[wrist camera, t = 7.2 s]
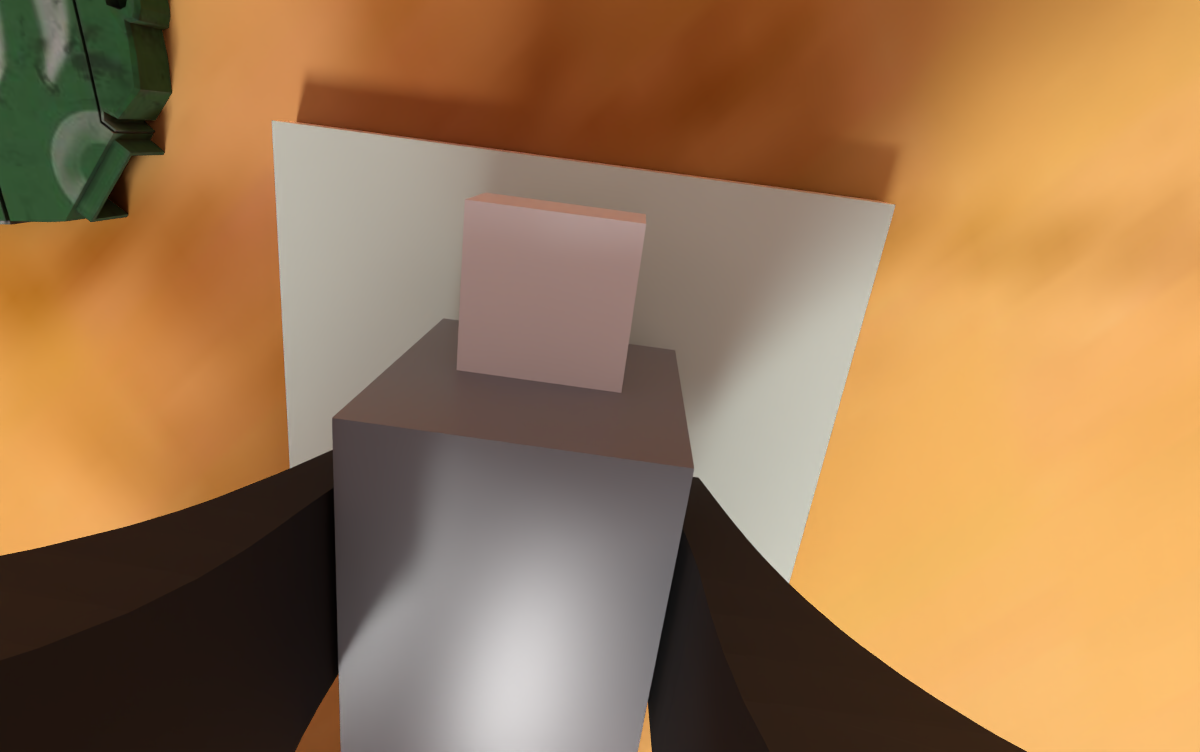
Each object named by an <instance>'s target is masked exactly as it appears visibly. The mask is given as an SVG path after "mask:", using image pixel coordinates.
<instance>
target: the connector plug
mask: <svg viewBox="0 0 1200 752" xmlns="http://www.w3.org/2000/svg"><path fill="white" fill-rule="evenodd" d="M645 229H646V214H641V213H633V212H626V211H619V210H611V209H604V208H596V207H589V206H582V205H574V204H567V203H559V202H552V201H545V200H537V199H530V198H522V197H515V196H508V195H500V194H493V193H483V194H480V195H477V196H474V197H471V198H468V199H465V204H464V225H463V246H462V266H461V287H460V308H459V320H452V319H445V318H443V319H442V320H441V321H440V322H439V323H438V324H436V325H435V326H434V327H433V328H432V329H431V330H430V331H429V332H427V333H426V334H425V335H424V336H423V337H422V338H421V339H420V340H418V341H417V342H416V343H415V344H414V345H413V346H412V347H411V348H410V349H408V350H407V351H406V352H405V353H404V354H403V355H402V356H401V357H399V358H398V359H397V360H396V361H395V362H394V363H393V364H392V365H390V366H389V367H388V368H387V369H386V370H385V371H384V372H383V373H382V374H380V375H379V376H378V377H377V378H376V379H375V380H374V381H373V382H371V383H370V384H369V385H368V386H367V387H366V388H365V389H364V390H362V391H361V392H360V393H359V394H358V395H357V396H356V397H355V398H354V399H352V400H351V401H350V402H349V403H348V404H347V405H346V406H345V407H343V408H342V409H341V410H340V411H339V412H338V413H337V414H336V415H334V416H333V417H332V440H333V478H334V516H335V555H336V593H337V631H338V669H339V707H340V746H341V752H638V747H639V742H640V737H641V732H642V727H643V722H644V717H645V712H646V707H647V702H648V697H649V692H650V687H651V682H652V677H653V672H654V667H655V662H656V657H657V652H658V647H659V642H660V637H661V632H662V627H663V622H664V617H665V612H666V608H667V603H668V598H669V593H670V588H671V583H672V578H673V573H674V568H675V563H676V558H677V553H678V548H679V543H680V538H681V533H682V528H683V523H684V518H685V513H686V508H687V503H688V498H689V493H690V488H691V483H692V478H693V473H694V464H693V457H692V451H691V445H690V439H689V433H688V427H687V420H686V414H685V408H684V402H683V396H682V390H681V383H680V377H679V371H678V365H677V359H676V353H675V350H670V349H663V348H655V347H648V346H641V345H634V344H629V338H630V331H631V324H632V317H633V311H634V304H635V297H636V290H637V283H638V277H639V270H640V263H641V256H642V250H643V243H644V236H645Z"/></svg>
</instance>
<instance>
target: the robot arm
mask: <svg viewBox="0 0 1200 752" xmlns="http://www.w3.org/2000/svg"><path fill="white" fill-rule="evenodd" d="M338 673H339V669H338V631H337V593H336V555H335V516H334V478H333V450H331V451H328V452H326V453H324V454H322V455H319V456H317V457H315V458H312V459H310V460H308V461H306V462H303V463H301V464H299V465H297V466H294V467H292V468H290V469H287V470H285V471H283V472H281V473H278V474H276V475H273V476H271V477H268V478H266V479H263V480H261V481H258V482H256V483H253V484H251V485H248V486H246V487H243V488H240V489H238V490H235V491H233V492H230V493H228V494H225V495H223V496H220V497H218V498H215V499H212V500H209V501H207V502H204V503H201V504H198V505H195V506H192V507H189V508H186V509H183V510H180V511H177V512H174V513H170V514H167V515H164V516H161V517H157V518H154V519H151V520H147V521H144V522H141V523H137V524H134V525H130V526H127V527H123V528H119V529H115V530H111V531H107V532H103V533H99V534H95V535H91V536H86V537H82V538H78V539H74V540H70V541H66V542H62V543H58V544H54V545H50V546H46V547H41V548H37V549H32V550H27V551H22V552H17V553H12V554H7V555H2V556H0V752H295V750H296V748H297V746H298V744H299V742H300V740H301V738H302V736H303V734H304V732H305V730H306V729H307V727H308V725H309V723H310V721H311V719H312V718H313V716H314V714H315V712H316V710H317V708H318V707H319V705H320V703H321V702H322V700H323V698H324V697H325V695H326V693H327V692H328V690H329V688H330V687H331V685H332V683H333V682H334V680H335V678H336V677H337V675H338ZM648 709H649V721H650V733H651V745H652V752H1027V751H1025V750H1023V749H1021V748H1019V747H1017V746H1015V745H1014V744H1012V743H1010V742H1008V741H1006V740H1004V739H1002V738H1001V737H999V736H997V735H995V734H993V733H992V732H990V731H988V730H987V729H985V728H983V727H982V726H980V725H978V724H977V723H975V722H973V721H972V720H970V719H969V718H967V717H965V716H964V715H962V714H961V713H959V712H957V711H956V710H954V709H952V708H951V707H949V706H948V705H946V704H944V703H943V702H941V701H940V700H938V699H936V698H935V697H933V696H932V695H930V694H929V693H927V692H926V691H924V690H923V689H921V688H920V687H918V686H917V685H915V684H914V683H912V682H911V681H909V680H908V679H906V678H905V677H903V676H902V675H900V674H899V673H898V672H896V671H895V670H893V669H892V668H891V667H889V666H888V665H887V664H885V663H884V662H883V661H881V660H880V659H878V658H877V657H876V656H874V655H873V654H872V653H870V652H869V651H868V650H866V649H865V648H863V647H862V646H861V645H859V644H858V643H857V642H856V641H854V640H853V639H852V638H850V637H849V636H848V635H847V634H845V633H844V632H843V631H842V630H840V629H839V628H838V627H837V626H836V625H834V624H833V623H832V622H831V621H830V620H829V619H828V618H826V617H825V616H824V615H823V614H822V613H821V612H819V611H818V610H817V609H816V608H815V607H814V606H813V605H811V604H810V603H809V602H808V601H807V600H806V599H805V598H804V597H802V596H801V595H800V594H799V593H798V592H797V591H796V590H795V589H794V588H793V587H792V586H791V585H790V584H789V583H788V582H787V581H786V580H785V579H784V578H783V577H782V576H781V575H780V574H779V573H778V572H777V571H776V570H775V569H774V568H773V567H772V566H771V565H770V564H769V563H768V561H767V560H766V559H765V558H764V557H763V556H762V555H761V554H760V553H759V552H758V550H757V549H756V548H755V547H754V546H753V545H752V544H751V543H750V541H749V540H748V539H747V538H746V537H745V536H744V534H743V533H742V532H741V531H740V530H739V528H738V527H737V526H736V525H735V524H734V522H733V521H732V520H731V519H730V517H729V516H728V515H727V514H726V512H725V511H724V510H723V508H722V507H721V506H720V505H719V503H718V502H717V501H716V499H715V498H714V497H713V495H712V494H711V493H710V491H709V490H708V489H707V487H706V486H705V485H704V484H703V482H702V481H701V480H700V479H699V477H693V478H692V483H691V488H690V493H689V498H688V503H687V508H686V513H685V518H684V523H683V528H682V533H681V538H680V543H679V548H678V553H677V558H676V563H675V568H674V573H673V578H672V583H671V588H670V593H669V598H668V603H667V608H666V612H665V617H664V622H663V627H662V632H661V637H660V642H659V647H658V652H657V657H656V662H655V667H654V672H653V677H652V682H651V687H650V692H649V697H648Z"/></svg>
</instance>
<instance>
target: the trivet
mask: <svg viewBox="0 0 1200 752" xmlns="http://www.w3.org/2000/svg"><path fill="white" fill-rule="evenodd" d="M272 136H273V155H274V174H275V194H276V213H277V232H278V251H279V270H280V289H281V308H282V327H283V347H284V366H285V385H286V404H287V423H288V442H289V461H290V468H292V467H294V466H297V465H299V464H301V463H303V462H306V461H308V460H310V459H312V458H315V457H317V456H319V455H322V454H324V453H326V452H328V451H331V450H333V440H332V417H333V416H334V415H336V414H337V413H338V412H339V411H340V410H341V409H342V408H343V407H345V406H346V405H347V404H348V403H349V402H350V401H351V400H352V399H354V398H355V397H356V396H357V395H358V394H359V393H360V392H361V391H362V390H364V389H365V388H366V387H367V386H368V385H369V384H370V383H371V382H373V381H374V380H375V379H376V378H377V377H378V376H379V375H380V374H382V373H383V372H384V371H385V370H386V369H387V368H388V367H389V366H390V365H392V364H393V363H394V362H395V361H396V360H397V359H398V358H399V357H401V356H402V355H403V354H404V353H405V352H406V351H407V350H408V349H410V348H411V347H412V346H413V345H414V344H415V343H416V342H417V341H418V340H420V339H421V338H422V337H423V336H424V335H425V334H426V333H427V332H429V331H430V330H431V329H432V328H433V327H434V326H435V325H436V324H438V323H439V322H440V321H441V320H442V319H443V318H445V319H452V320H459V308H460V287H461V266H462V246H463V225H464V204H465V199H468V198H471V197H474V196H477V195H480V194H483V193H493V194H500V195H508V196H515V197H522V198H530V199H537V200H545V201H552V202H559V203H567V204H574V205H582V206H589V207H596V208H604V209H611V210H619V211H626V212H633V213H641V214H646V229H645V236H644V243H643V250H642V256H641V263H640V270H639V277H638V283H637V290H636V297H635V304H634V311H633V317H632V324H631V331H630V338H629V344H634V345H641V346H648V347H655V348H663V349H670V350H675V353H676V359H677V365H678V371H679V377H680V383H681V390H682V396H683V402H684V408H685V414H686V420H687V427H688V433H689V439H690V445H691V451H692V457H693V464H694V473H693V477H699V479H700V480H701V481H702V482H703V484H704V485H705V486H706V487H707V489H708V490H709V491H710V493H711V494H712V495H713V497H714V498H715V499H716V501H717V502H718V503H719V505H720V506H721V507H722V508H723V510H724V511H725V512H726V514H727V515H728V516H729V517H730V519H731V520H732V521H733V522H734V524H735V525H736V526H737V527H738V528H739V530H740V531H741V532H742V533H743V534H744V536H745V537H746V538H747V539H748V540H749V541H750V543H751V544H752V545H753V546H754V547H755V548H756V549H757V550H758V552H759V553H760V554H761V555H762V556H763V557H764V558H765V559H766V560H767V561H768V563H769V564H770V565H771V566H772V567H773V568H774V569H775V570H776V571H777V572H778V573H779V574H780V575H781V576H782V577H783V578H784V579H785V580H786V581H787V582H788V583H789V581H790V578H791V574H792V571H793V567H794V564H795V560H796V557H797V553H798V549H799V546H800V542H801V539H802V535H803V532H804V528H805V525H806V521H807V518H808V514H809V510H810V507H811V503H812V500H813V496H814V493H815V489H816V486H817V482H818V478H819V475H820V471H821V468H822V464H823V461H824V457H825V454H826V450H827V446H828V443H829V439H830V436H831V432H832V429H833V425H834V422H835V418H836V414H837V411H838V407H839V404H840V400H841V397H842V393H843V390H844V386H845V383H846V379H847V375H848V372H849V368H850V365H851V361H852V358H853V354H854V351H855V347H856V343H857V340H858V336H859V333H860V329H861V326H862V322H863V319H864V315H865V311H866V308H867V304H868V301H869V297H870V294H871V290H872V287H873V283H874V279H875V276H876V272H877V269H878V265H879V262H880V258H881V255H882V251H883V248H884V244H885V240H886V237H887V233H888V230H889V226H890V223H891V219H892V216H893V212H894V208H895V205H894V204H890V203H886V202H882V201H877V200H870V199H863V198H855V197H848V196H840V195H833V194H826V193H818V192H811V191H803V190H796V189H789V188H781V187H774V186H766V185H759V184H752V183H744V182H737V181H729V180H722V179H715V178H707V177H700V176H692V175H685V174H678V173H670V172H663V171H655V170H648V169H641V168H633V167H626V166H618V165H611V164H604V163H596V162H589V161H581V160H574V159H567V158H559V157H552V156H544V155H537V154H530V153H522V152H515V151H508V150H500V149H493V148H485V147H478V146H471V145H463V144H456V143H448V142H441V141H434V140H426V139H419V138H411V137H404V136H397V135H389V134H382V133H374V132H367V131H360V130H352V129H345V128H337V127H330V126H323V125H315V124H308V123H300V122H290V121H273V120H272Z"/></svg>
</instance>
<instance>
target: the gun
mask: <svg viewBox="0 0 1200 752" xmlns="http://www.w3.org/2000/svg"><path fill="white" fill-rule="evenodd" d="M169 22H170V9H169V3H168V0H0V224H17V223H25V222H60V221H71V220H78V219H85V218H86V219H88V220H89V221H90V222H95V221H102V220H109V219H116V218H123V217H127V216H128V214H127V213H126V212H125V211H124V210H122V209H121V208H120V207H118V206H117V205H116V204H115V203H113V202H112V201H111V200H109V199H108V196H109V195H110V193H111V191H112V189H113V188H114V186H115V184H116V182H117V181H118V179H119V177H120V175H121V174H122V172H123V170H124V168H125V167H126V165H127V163H128V161H129V160H130V158H131V156H137V155H164V153H165V152H164V151H163V150H162V149H161V148H159V147H158V146H157V145H156V144H155V143H153V142H152V141H151V138H152V136H153V132H155V130H153V129H152V128H151V127H150V126H149V125H148V124H147V123H146V122H145V120H156V119H157V117H158V116H159V114H160V112H161V111H162V109H163V107H164V106H165V104H166V102H167V100H168V99H169V97H170V95H171V94H172V89H171V80H170V72H169V63H168V56H167V51H166V47H165V42H164V37H163V32H162V30H164V29H167V28H169Z"/></svg>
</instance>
